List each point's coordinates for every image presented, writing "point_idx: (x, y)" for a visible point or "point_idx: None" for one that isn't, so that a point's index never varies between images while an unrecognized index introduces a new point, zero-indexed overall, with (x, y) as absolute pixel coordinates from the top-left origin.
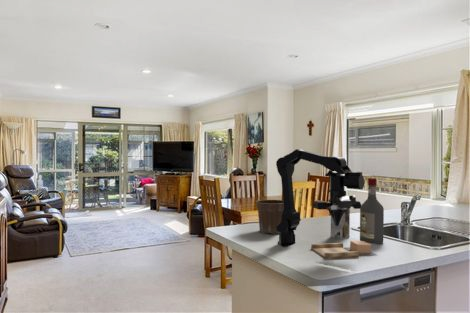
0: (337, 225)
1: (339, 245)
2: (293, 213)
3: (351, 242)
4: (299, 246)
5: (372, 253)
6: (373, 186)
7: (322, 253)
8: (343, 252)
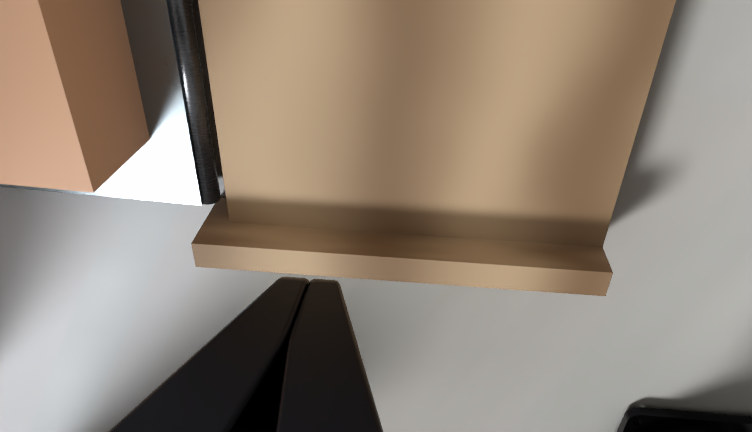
0: (305, 283)
1: (246, 232)
2: None
3: (93, 155)
4: (597, 388)
5: None
6: None
7: None
8: None
